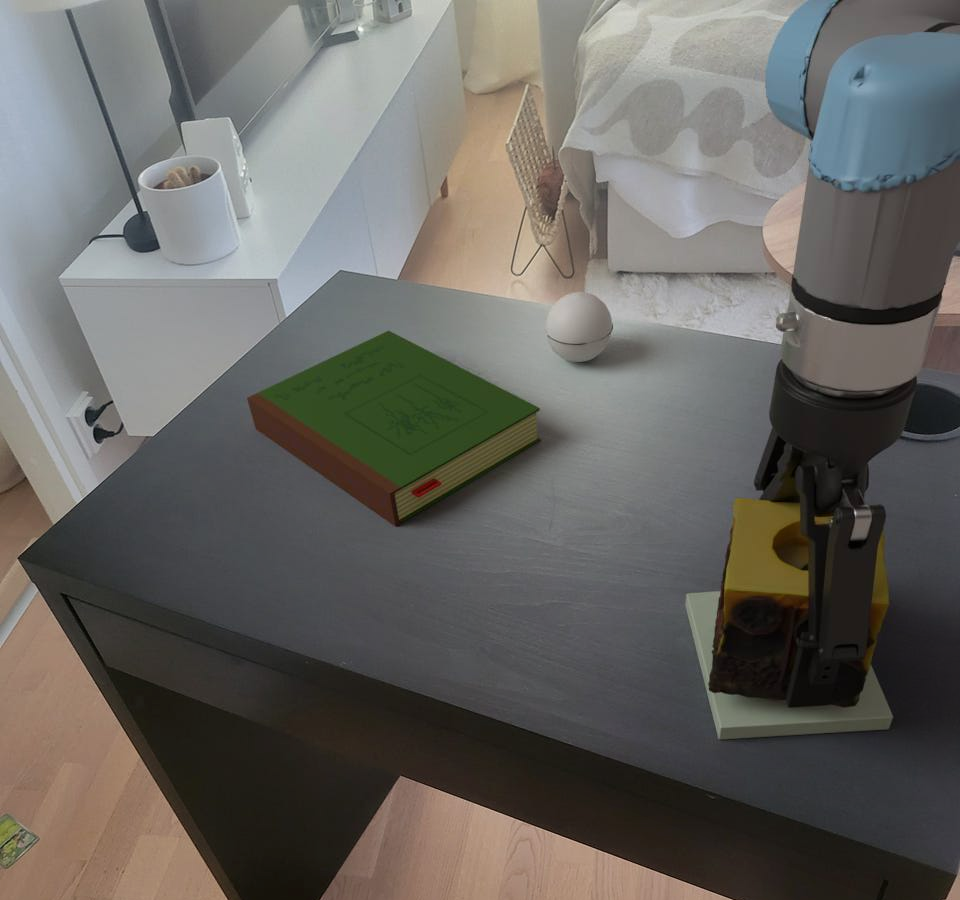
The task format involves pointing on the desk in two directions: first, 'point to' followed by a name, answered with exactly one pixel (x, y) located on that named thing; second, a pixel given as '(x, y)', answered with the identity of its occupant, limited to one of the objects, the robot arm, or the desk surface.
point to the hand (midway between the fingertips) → (785, 640)
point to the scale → (774, 716)
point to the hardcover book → (395, 424)
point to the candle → (776, 606)
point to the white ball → (579, 327)
